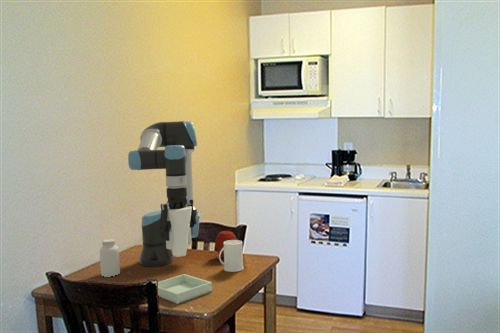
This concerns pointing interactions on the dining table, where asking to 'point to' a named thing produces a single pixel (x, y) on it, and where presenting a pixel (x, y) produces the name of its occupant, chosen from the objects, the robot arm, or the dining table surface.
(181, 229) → the cup
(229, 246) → the mug
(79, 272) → the dining table surface
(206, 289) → the tray
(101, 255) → the pill bottle
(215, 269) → the dining table surface
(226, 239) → the red rounded piece
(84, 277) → the dining table surface
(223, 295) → the dining table surface
